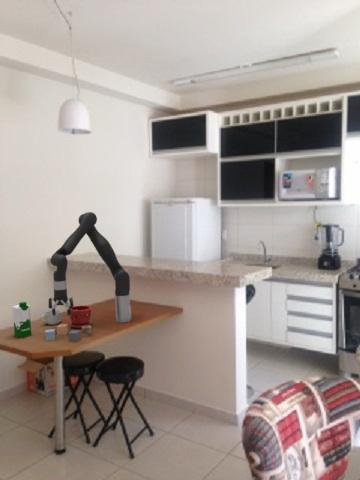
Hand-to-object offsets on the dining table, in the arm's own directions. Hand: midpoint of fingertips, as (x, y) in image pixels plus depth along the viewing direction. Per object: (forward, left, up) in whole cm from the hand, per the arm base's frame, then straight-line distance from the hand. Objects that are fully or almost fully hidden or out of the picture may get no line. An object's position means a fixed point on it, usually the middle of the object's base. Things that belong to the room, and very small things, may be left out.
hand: (61, 315), depth 252 cm
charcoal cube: (-11, +13, -11) cm, 21 cm away
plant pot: (-7, -14, -11) cm, 19 cm away
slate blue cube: (+4, +10, -11) cm, 15 cm away
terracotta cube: (0, 0, -11) cm, 11 cm away
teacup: (+14, -20, -11) cm, 27 cm away
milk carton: (+23, +3, -11) cm, 25 cm away
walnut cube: (-16, +4, -11) cm, 20 cm away
